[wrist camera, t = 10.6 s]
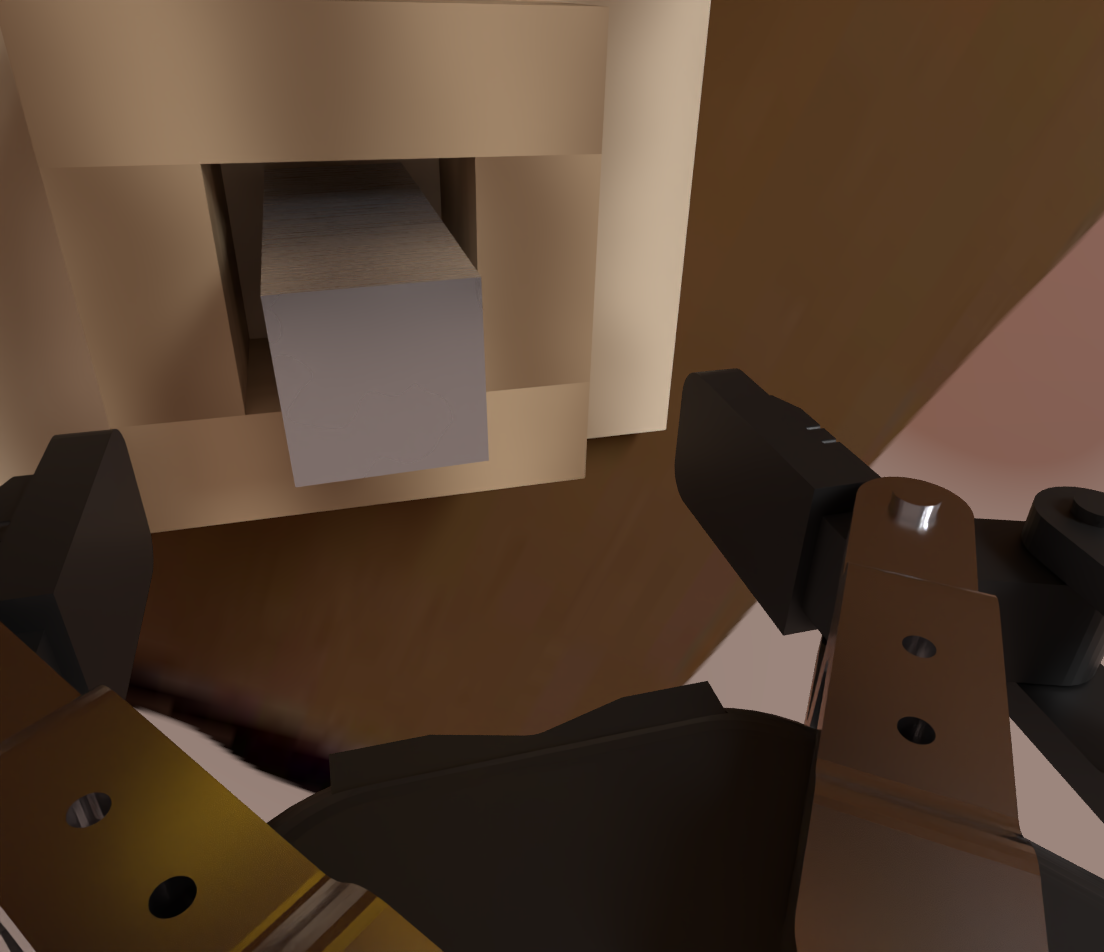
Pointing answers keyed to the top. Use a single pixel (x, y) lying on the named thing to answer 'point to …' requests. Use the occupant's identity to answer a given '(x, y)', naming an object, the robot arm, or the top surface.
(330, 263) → the gray rectangular block
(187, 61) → the stone box on board
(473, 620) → the top surface
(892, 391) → the top surface
